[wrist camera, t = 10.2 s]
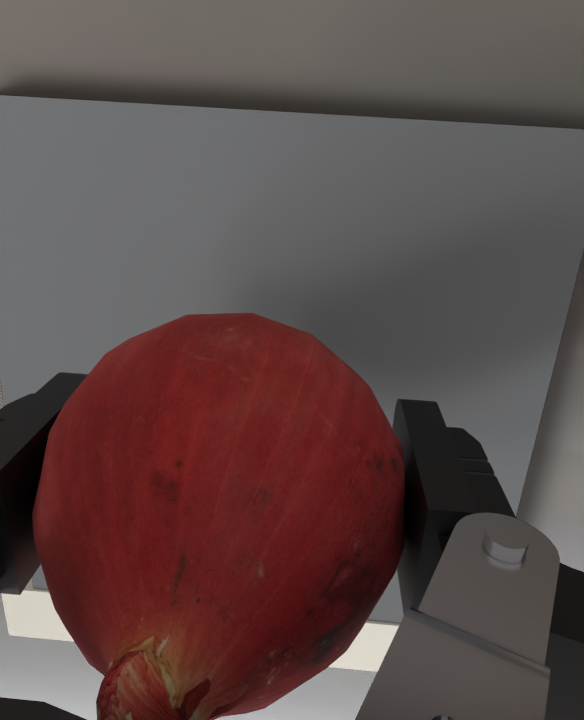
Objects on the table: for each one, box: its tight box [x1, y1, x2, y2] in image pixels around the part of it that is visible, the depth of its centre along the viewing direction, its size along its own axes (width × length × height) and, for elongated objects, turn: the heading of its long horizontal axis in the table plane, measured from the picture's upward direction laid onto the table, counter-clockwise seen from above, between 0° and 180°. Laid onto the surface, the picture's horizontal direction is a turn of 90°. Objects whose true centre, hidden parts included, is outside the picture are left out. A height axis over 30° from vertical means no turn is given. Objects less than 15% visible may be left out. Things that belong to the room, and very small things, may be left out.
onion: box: [32, 313, 405, 720], centre depth 9 cm, size 6×6×8 cm
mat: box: [0, 95, 584, 672], centre depth 15 cm, size 16×16×1 cm
